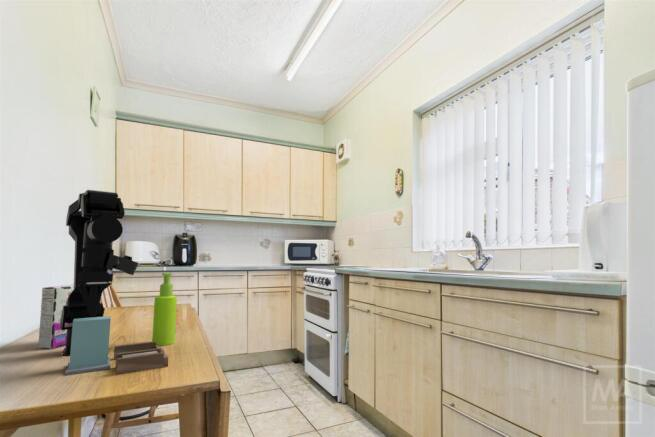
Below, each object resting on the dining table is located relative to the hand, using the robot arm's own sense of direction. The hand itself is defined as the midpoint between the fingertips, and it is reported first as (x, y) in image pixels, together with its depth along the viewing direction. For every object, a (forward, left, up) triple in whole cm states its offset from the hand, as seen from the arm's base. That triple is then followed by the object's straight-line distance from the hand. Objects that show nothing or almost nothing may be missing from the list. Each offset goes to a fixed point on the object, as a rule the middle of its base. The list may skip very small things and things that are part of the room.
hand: (93, 312), depth 79 cm
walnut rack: (+2, +9, -12) cm, 15 cm away
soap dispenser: (-15, +17, -12) cm, 26 cm away
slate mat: (0, 0, -12) cm, 12 cm away
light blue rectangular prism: (0, 0, -11) cm, 11 cm away
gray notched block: (+6, +10, -12) cm, 17 cm away
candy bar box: (-29, -7, -12) cm, 32 cm away
